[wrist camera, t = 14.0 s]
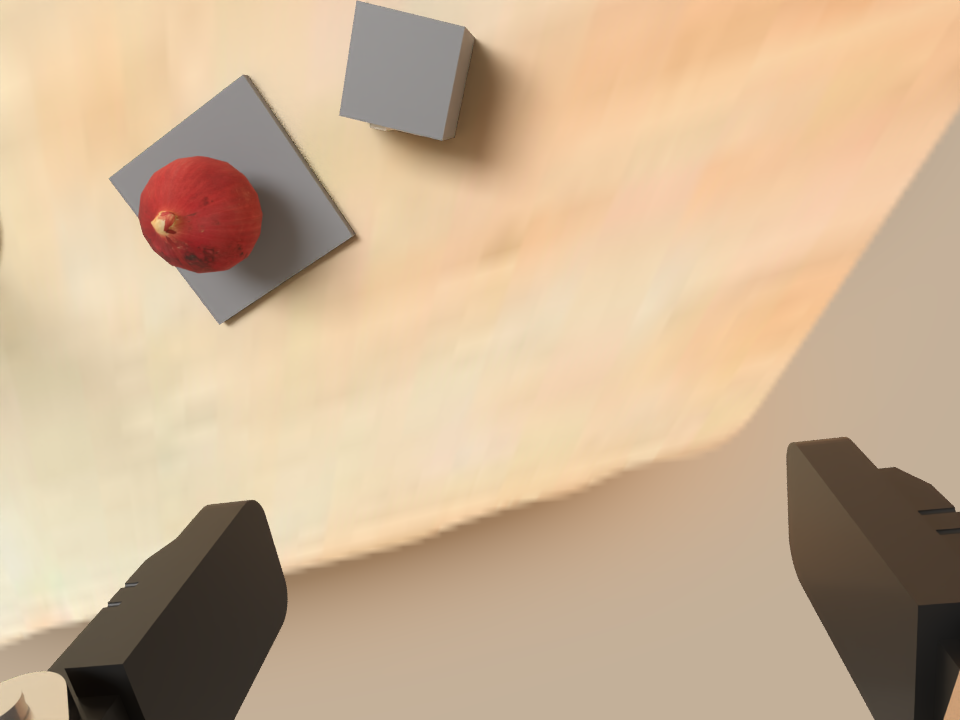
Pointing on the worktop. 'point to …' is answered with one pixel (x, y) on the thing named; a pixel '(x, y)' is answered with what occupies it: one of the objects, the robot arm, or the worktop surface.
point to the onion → (200, 214)
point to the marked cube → (406, 72)
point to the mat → (274, 176)
